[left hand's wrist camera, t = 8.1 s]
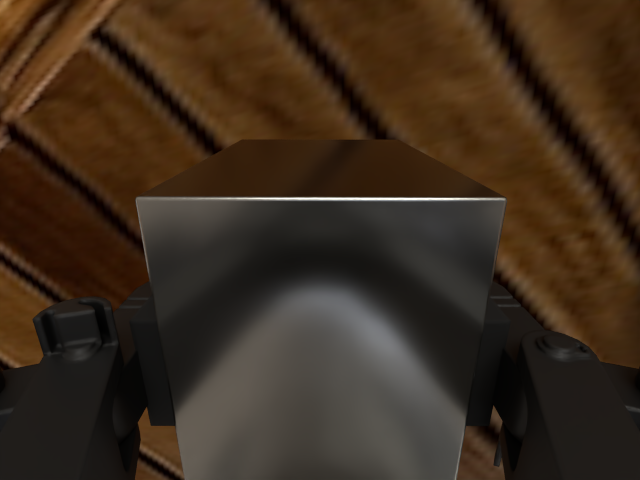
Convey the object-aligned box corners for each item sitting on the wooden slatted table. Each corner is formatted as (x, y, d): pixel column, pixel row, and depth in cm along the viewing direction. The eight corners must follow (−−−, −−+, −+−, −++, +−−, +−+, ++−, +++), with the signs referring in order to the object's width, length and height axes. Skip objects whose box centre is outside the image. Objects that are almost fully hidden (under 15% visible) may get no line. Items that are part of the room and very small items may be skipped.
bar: (240, 139, 13) (132, 196, 6) (400, 139, 13) (509, 197, 6) (269, 551, 21) (241, 807, 13) (369, 551, 21) (397, 807, 13)
